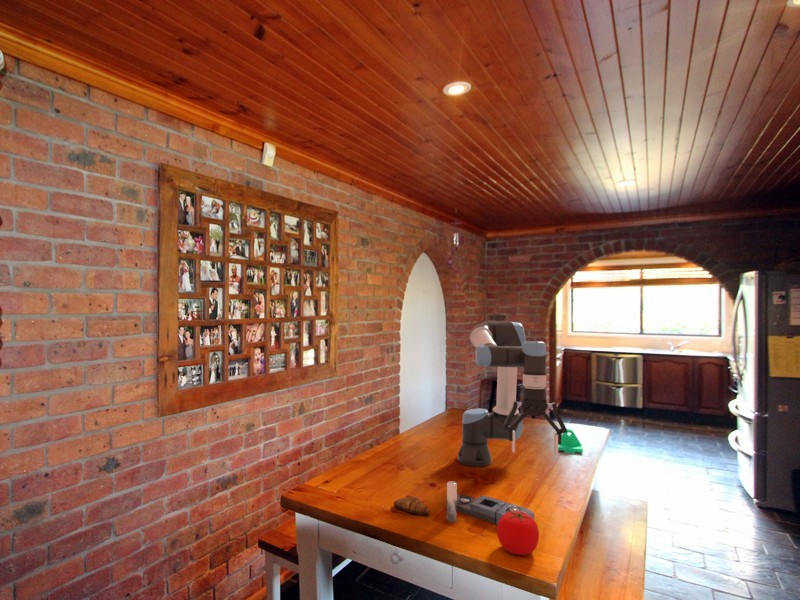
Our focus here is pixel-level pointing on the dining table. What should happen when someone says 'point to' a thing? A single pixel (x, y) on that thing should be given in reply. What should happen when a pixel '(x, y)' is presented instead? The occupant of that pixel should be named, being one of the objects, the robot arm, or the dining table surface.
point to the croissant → (412, 505)
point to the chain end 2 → (496, 507)
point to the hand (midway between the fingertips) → (534, 452)
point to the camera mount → (570, 443)
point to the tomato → (518, 533)
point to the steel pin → (451, 501)
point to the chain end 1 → (464, 507)
